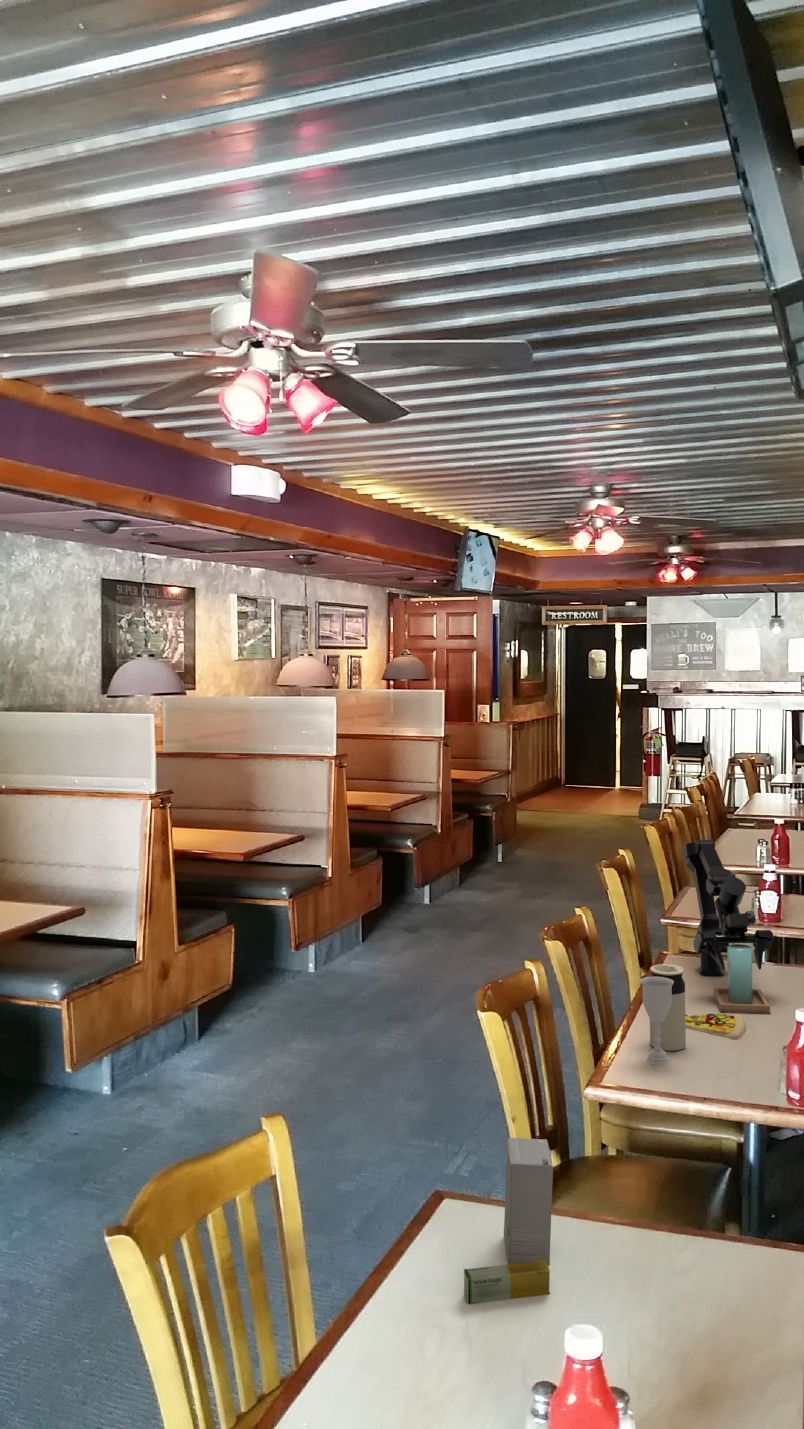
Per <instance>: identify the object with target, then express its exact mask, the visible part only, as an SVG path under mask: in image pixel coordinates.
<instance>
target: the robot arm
mask: <svg viewBox="0 0 804 1429" xmlns="http://www.w3.org/2000/svg"><path fill="white" fill-rule="evenodd" d="M682 857H683V859H684V860H685V861H684V862H685V864H686V867H687V868H688V869H689V870H690V871H691V873H692V874H693V880H694V885H695V891H696V897H697V903H698V908H699V915H700V922H699V924H698V925H697V928H696V933H695V936H694V939H693V949H694V951H695V952H696V953H697V954H700V955H699V956H700V957H699V958H700V960H699V961H700V962H699V963H700V966H699V967H697V970H698V973H699V975H700V976H722V977H723V976H725V973H724V971H725V969H726V965H725V962H724V958H723V956H722V953H725V954H727V946H729V945H730V944H752V945H753V948H754V949H753V952H754V953H753V954H754V957H755V962H756V967H757V968H758V970H761V969H762V964H763V955H764V953H765V952H766V951H767V950H768V949H771V946H772V944H773V942H774V940H775V937H774V932H773V931H772V930H771V929H756V930H755V932H754V934H750V935H749V934H747V935H746V933H748V927H750V925H754V924H756V923H757V922H756V921H757V919H756V915H755V911H754V910H747V911H746V912H744V913H742V912H740V908H739V905H741V903H742V901H743V898H744V896H745V893H746V891H747V890H746V889H747V886H746V883H744V881H743V880H742V879H740V878H739V877H737V876H736V873H735V874H734V873H732V872H731V871H730V870H729V869H726V868H725V867H724V865H723V863H722V861H721V858H720V856H719V855H718V852H717V849H716V844H715V841H714V840H712V839H698V840H695V841H693V842H686V844H684V845H683V846H682ZM715 897H717V898H716V899H715Z"/></svg>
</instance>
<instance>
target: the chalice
mask: <svg viewBox="0 0 804 1429" xmlns="http://www.w3.org/2000/svg"><path fill="white" fill-rule="evenodd" d="M639 981H640V983H641V985H642V1004H643V1007H644V1009H645V1012H646V1014H647V1016H648V1018H649V1021H650V1020H651V1021H652V1022H654V1023H655V1030H654V1032H655V1038H654V1039H653V1040H654V1041H655V1044H656V1045H655V1047H653V1048H652V1049H651V1050H649V1052H648V1054H647V1058H646V1060H645V1061H646V1063H647V1064H650V1065H653V1066H666V1065H669V1064H670V1060H669V1057H668V1055H667V1051H664V1050H662V1049H661V1048H660V1041H662V1039H661V1038H660V1033H661V1030H660V1023H662V1022H664V1020H665V1018H666V1016H667V1014H668V1013H669V1010H670V1007H671V1004H672V985H673V983H674V981H673V980H671V979H669V978H664V977H652V976H645V977H642V978H640V980H639Z"/></svg>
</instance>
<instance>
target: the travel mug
mask: <svg viewBox="0 0 804 1429" xmlns="http://www.w3.org/2000/svg"><path fill="white" fill-rule="evenodd" d="M650 971H651V975H652V976H651V977H664V978H669V979H671V980H673V981H674V983H673V985H672V1004H671V1007H670V1010H669V1013H668V1014H667V1016H666V1018H665V1020H664V1022H662V1023H660V1030H661V1033H660V1038H661V1039H662V1041H660V1048H661V1049H662V1050H664V1051H665V1052H676V1051H680V1050H682V1049H684V1048H685V1047H686V1042H687V1040H686V1038H687V1036H686V1035H687V1034H686V1028H685V1014H686V982H685V981H684V978H683V973H684V971H685V970H684V968H683V967H682V966H679V965H674V964H669V963H668V964H666V963H665V964H664V963H663V964H660V963H659V964H656V965H652V966H651V967H650ZM654 1030H655V1023H654V1022H652V1021H651V1020H650V1019H649V1043H650V1044H649V1045H651V1047H653V1048H655V1045H656V1044H655V1041H654V1040H653V1039H654V1038H655V1032H654Z"/></svg>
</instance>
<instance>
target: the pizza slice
mask: <svg viewBox="0 0 804 1429" xmlns="http://www.w3.org/2000/svg"><path fill="white" fill-rule="evenodd" d="M746 1028H747V1025H746V1021H745V1019H744V1018H743V1017H742V1015H741V1014H740V1013H735V1014H733V1015H728V1014H727V1013H724V1014H723V1013H722V1014H721V1013H717V1014H714V1013H707V1014H701V1015H700V1014H698V1015H697V1014H696V1015H688V1014H686V1013H685V1029H688V1030H693V1031H697V1032H700V1033H706V1034H709V1035H713V1034H714V1036H718V1037H722V1038H727V1039H730V1040H737V1041H738V1040H739V1039H741V1038H742V1037H743V1036H744V1034H745V1032H746Z"/></svg>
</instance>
